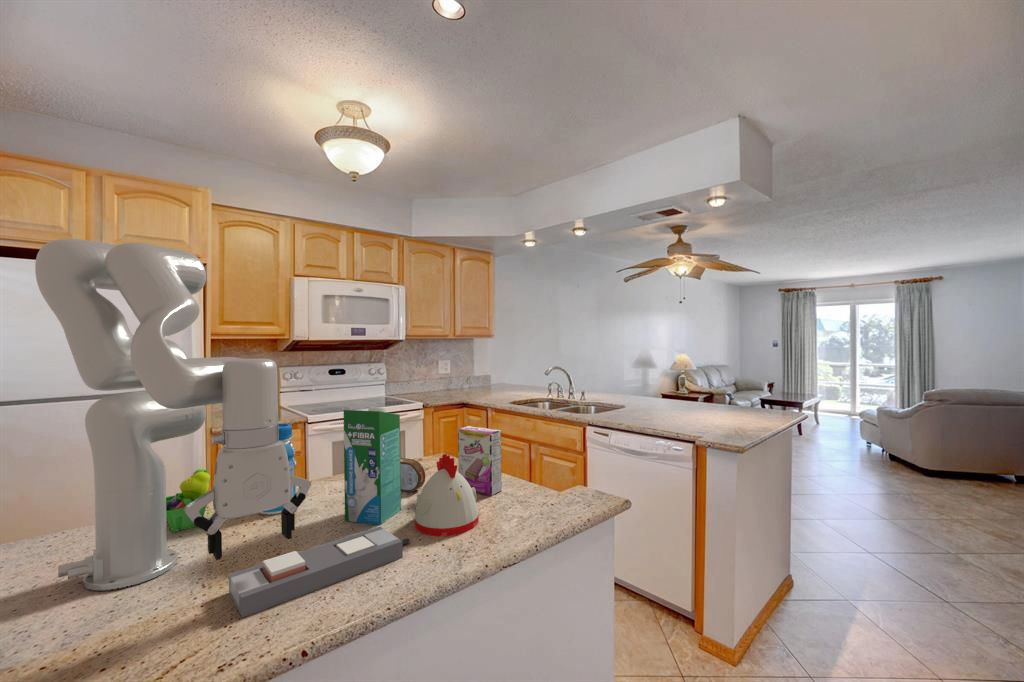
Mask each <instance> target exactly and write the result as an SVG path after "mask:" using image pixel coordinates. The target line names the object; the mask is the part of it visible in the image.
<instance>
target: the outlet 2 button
mask: <svg viewBox="0 0 1024 682" xmlns="http://www.w3.org/2000/svg"><path fill="white" fill-rule="evenodd" d="M336 547H337V549H338V550H339V551H340V552H341V553H342V554H343V555H344V556H346V557H347V556H349V555H352V554H355V553H358V552H361V551H364V550H367V549H370V548H373V547H375V545H374V544H373V543H371V542H370V541H369V540H367V539H366V538H365V537H363V536H362V537H359V538H355V539H352V540H349V541H346V542H343V543H340V544H337V545H336Z"/></svg>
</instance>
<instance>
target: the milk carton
mask: <svg viewBox="0 0 1024 682" xmlns="http://www.w3.org/2000/svg"><path fill="white" fill-rule="evenodd" d="M400 416H401V415H400V414H398V413H391V412H387V411H386V407H381V406H380V407H378V406H377V407H376V406H368V409H367V410H360V409H359V410H357V409H343V467H344V468H343V470H344V471H343V473H344V474H343V476H344V479H343V481H344V521H345V522H350V523H351V522H352V523H360V524H369V525H370V524H371V525H376V526H377V525H378V526H381V525H382V524H383V523H384V522H386V521H388V520H389V519H390V518H391V517H393V516H394V515H395V514H397V513H398V512H399V511H401V510H402V503H401V502H402V498H401V497H402V496H401V495H402V491H401V476H400V458H401V430H400V429H401V417H400Z"/></svg>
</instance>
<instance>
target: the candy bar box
mask: <svg viewBox="0 0 1024 682" xmlns="http://www.w3.org/2000/svg"><path fill="white" fill-rule="evenodd" d="M457 441H458V442H457V449H458V450H457V453H458V454H457V455H458V456H457V457H458V458H457V459H458V463H457V466H458V473H460V474H461V475H462V476H463V477H464V478H465V479H466V481H467V482H468V483H469V485H470V487H471V488H472V487H474V488H475V490H476V492H477V493H476V494H480V495H481V494H482V495H485V496H491V497H492V496H493V497H494V496H495V495H496V493H497V494H499V493H500V492H502V430H500V429H495V428H487V427H478V426H473V425H467V426H464V427H459V428H458V429H457Z"/></svg>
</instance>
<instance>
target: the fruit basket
mask: <svg viewBox="0 0 1024 682" xmlns="http://www.w3.org/2000/svg"><path fill="white" fill-rule="evenodd" d="M208 472H209V471H208V470H207V469H204V468H199V469H196V470H195V471H194V472H193V473H192V475H191V476H190V477H187V478H186V479H184V480H183V481H182V482H180V485H179V490H180V491H181V492H176V493H175V495H170V496H166V523H167V524H168V525H169V527H170V529H171V531H172V532H173V533H174V532H177V531H182V530H186V529H190V528H193V527H196V526H195V524H194V523H193V522H192V520H191V519H190V518H189V517H188V515H187V514H186V513H185V510H184V508H185V506H187V505H188V504H190V503H191V502H193V501H194V500H196V499H198V498H199V497H201V496H202V495H204V494H205V493H207V492H209V487H210V483H209V482H210V480H211V475H210V474H209V473H208ZM207 506H208V504H207V505H206V506H204V507H203V508H201V509H200V510H199V513H200V514H201V515H202V516H203V517H205V513H206V508H207Z"/></svg>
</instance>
